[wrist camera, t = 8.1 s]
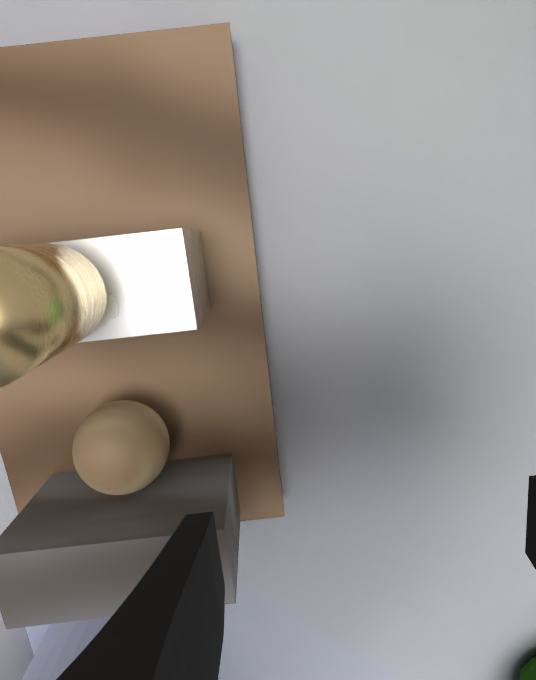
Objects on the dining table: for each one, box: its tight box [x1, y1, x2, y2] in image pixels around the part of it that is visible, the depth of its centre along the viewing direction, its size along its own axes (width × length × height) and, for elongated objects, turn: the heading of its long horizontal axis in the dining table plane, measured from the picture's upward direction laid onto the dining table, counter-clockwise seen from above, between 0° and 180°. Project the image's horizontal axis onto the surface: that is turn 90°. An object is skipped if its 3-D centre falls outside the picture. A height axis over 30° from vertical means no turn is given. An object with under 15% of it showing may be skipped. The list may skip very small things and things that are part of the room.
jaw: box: [0, 228, 210, 388], centre depth 13 cm, size 3×8×8 cm, turn 96°
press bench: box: [0, 23, 285, 629], centre depth 16 cm, size 20×12×6 cm, turn 6°
